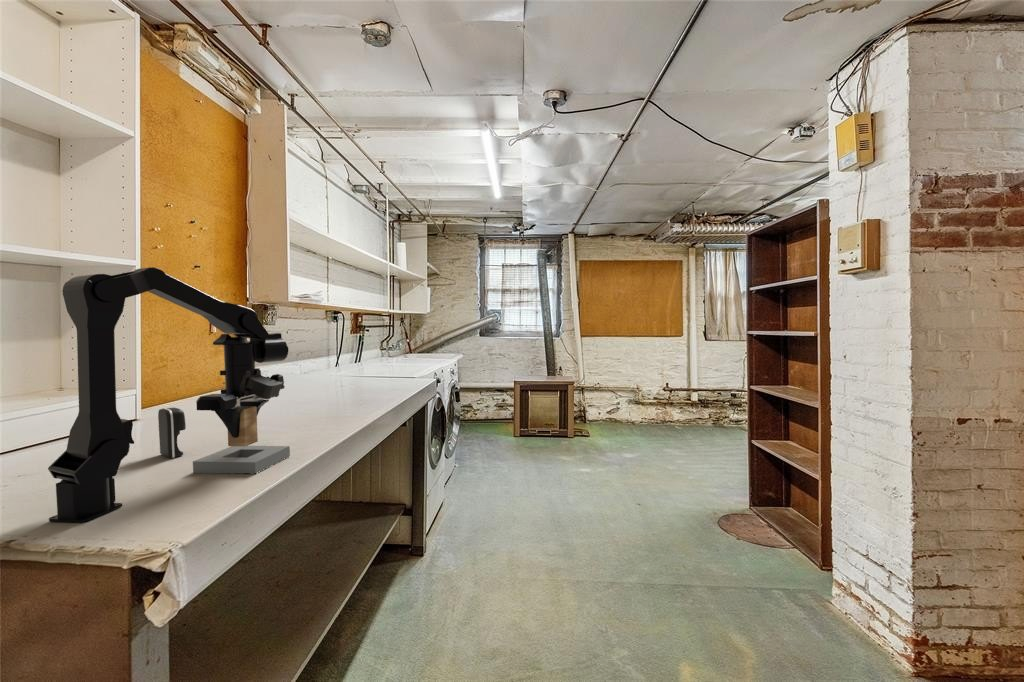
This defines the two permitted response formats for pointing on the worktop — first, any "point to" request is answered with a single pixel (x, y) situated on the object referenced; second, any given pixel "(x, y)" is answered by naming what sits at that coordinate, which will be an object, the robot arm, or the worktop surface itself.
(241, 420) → the wood grain block
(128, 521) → the worktop surface
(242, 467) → the socket plate
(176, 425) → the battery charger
